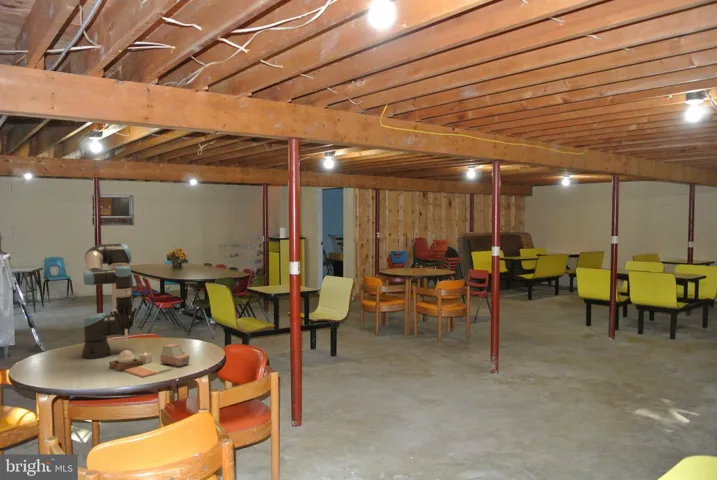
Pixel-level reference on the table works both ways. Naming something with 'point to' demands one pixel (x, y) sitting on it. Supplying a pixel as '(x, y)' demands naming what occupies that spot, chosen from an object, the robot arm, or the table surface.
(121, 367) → the dome housing
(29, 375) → the table surface
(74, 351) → the table surface
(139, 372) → the board
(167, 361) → the toy car
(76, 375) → the table surface
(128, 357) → the dome
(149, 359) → the die
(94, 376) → the table surface
